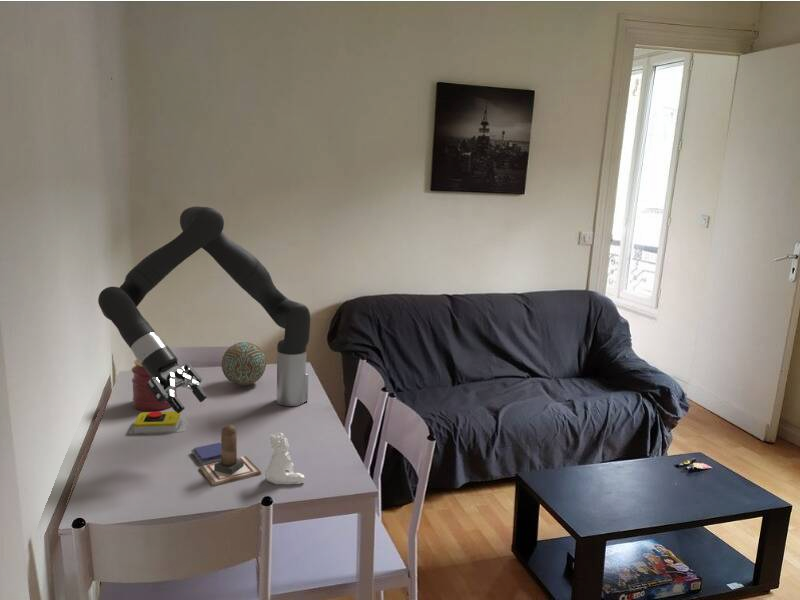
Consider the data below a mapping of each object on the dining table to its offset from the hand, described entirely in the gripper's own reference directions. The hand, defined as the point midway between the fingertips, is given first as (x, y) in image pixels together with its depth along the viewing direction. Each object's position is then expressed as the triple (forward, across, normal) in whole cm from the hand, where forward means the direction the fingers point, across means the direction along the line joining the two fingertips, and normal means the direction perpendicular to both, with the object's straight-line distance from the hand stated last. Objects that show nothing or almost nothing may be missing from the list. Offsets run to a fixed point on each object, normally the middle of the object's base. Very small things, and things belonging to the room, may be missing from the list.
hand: (193, 405), depth 151 cm
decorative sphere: (-5, +56, +27) cm, 63 cm away
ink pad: (+12, +5, +10) cm, 16 cm away
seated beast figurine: (+28, +2, -6) cm, 29 cm away
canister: (-14, +28, +37) cm, 49 cm away
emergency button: (-5, +15, +28) cm, 32 cm away
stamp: (+18, 0, +3) cm, 18 cm away
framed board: (+18, 0, +3) cm, 19 cm away
